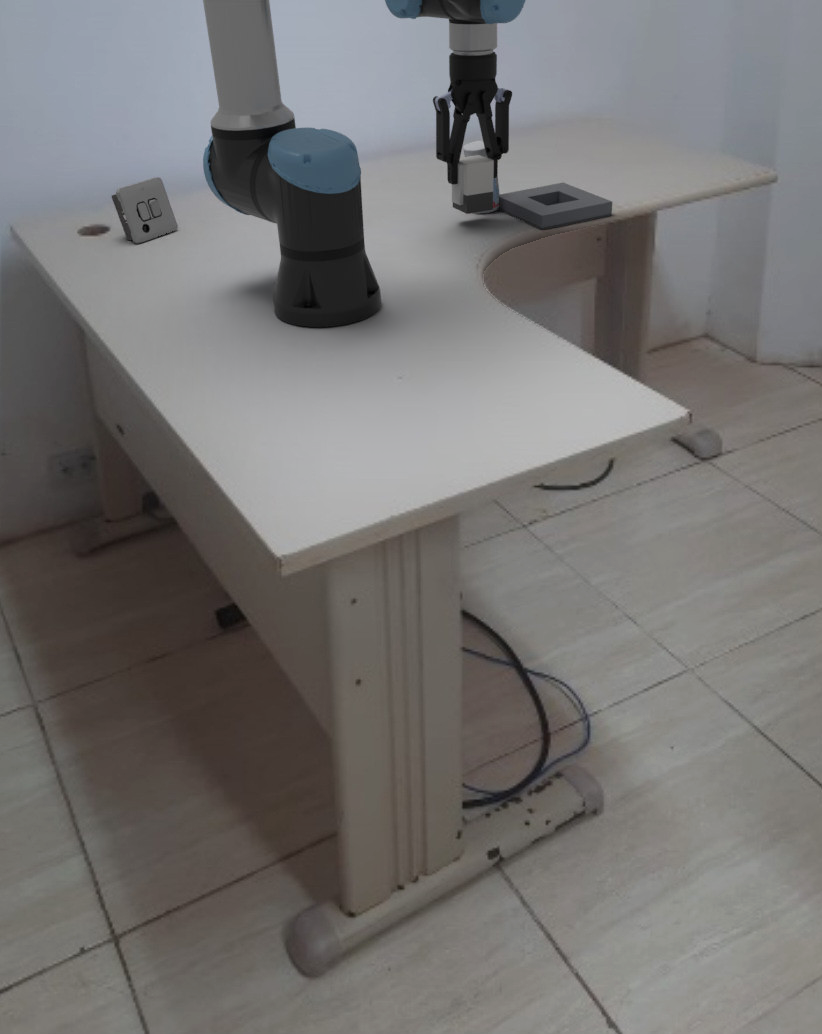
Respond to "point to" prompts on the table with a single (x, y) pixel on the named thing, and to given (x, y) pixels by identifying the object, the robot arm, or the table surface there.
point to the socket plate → (554, 205)
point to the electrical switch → (144, 210)
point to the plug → (476, 184)
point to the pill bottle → (479, 149)
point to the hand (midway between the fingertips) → (472, 200)
